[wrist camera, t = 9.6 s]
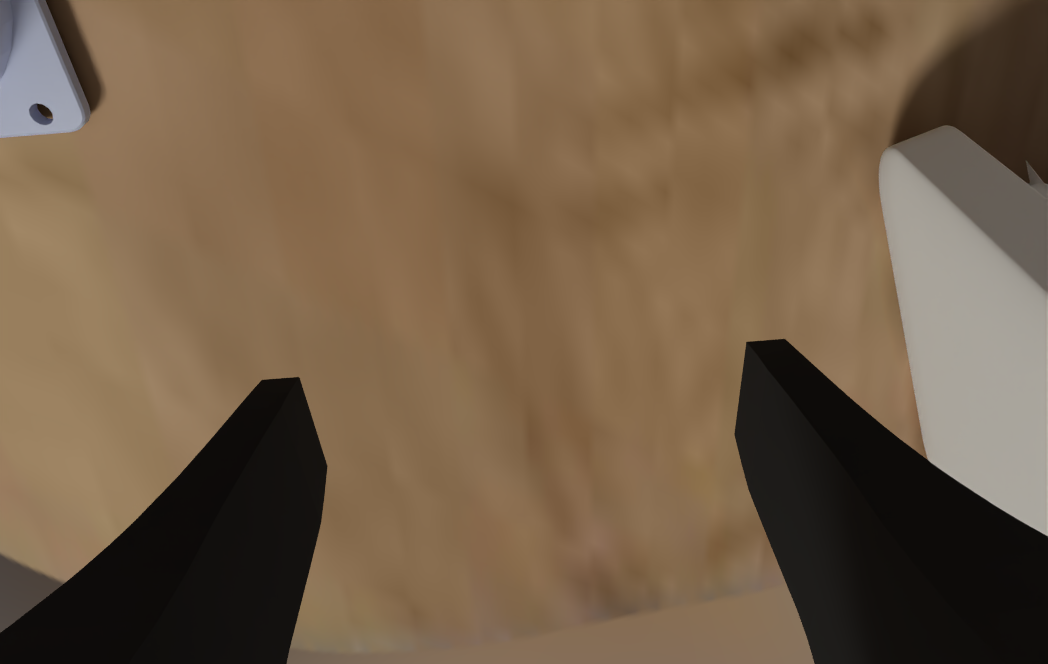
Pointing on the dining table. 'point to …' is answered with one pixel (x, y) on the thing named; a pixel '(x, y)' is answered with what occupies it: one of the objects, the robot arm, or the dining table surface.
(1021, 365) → the cable organizer
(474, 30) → the dining table surface
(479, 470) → the dining table surface
